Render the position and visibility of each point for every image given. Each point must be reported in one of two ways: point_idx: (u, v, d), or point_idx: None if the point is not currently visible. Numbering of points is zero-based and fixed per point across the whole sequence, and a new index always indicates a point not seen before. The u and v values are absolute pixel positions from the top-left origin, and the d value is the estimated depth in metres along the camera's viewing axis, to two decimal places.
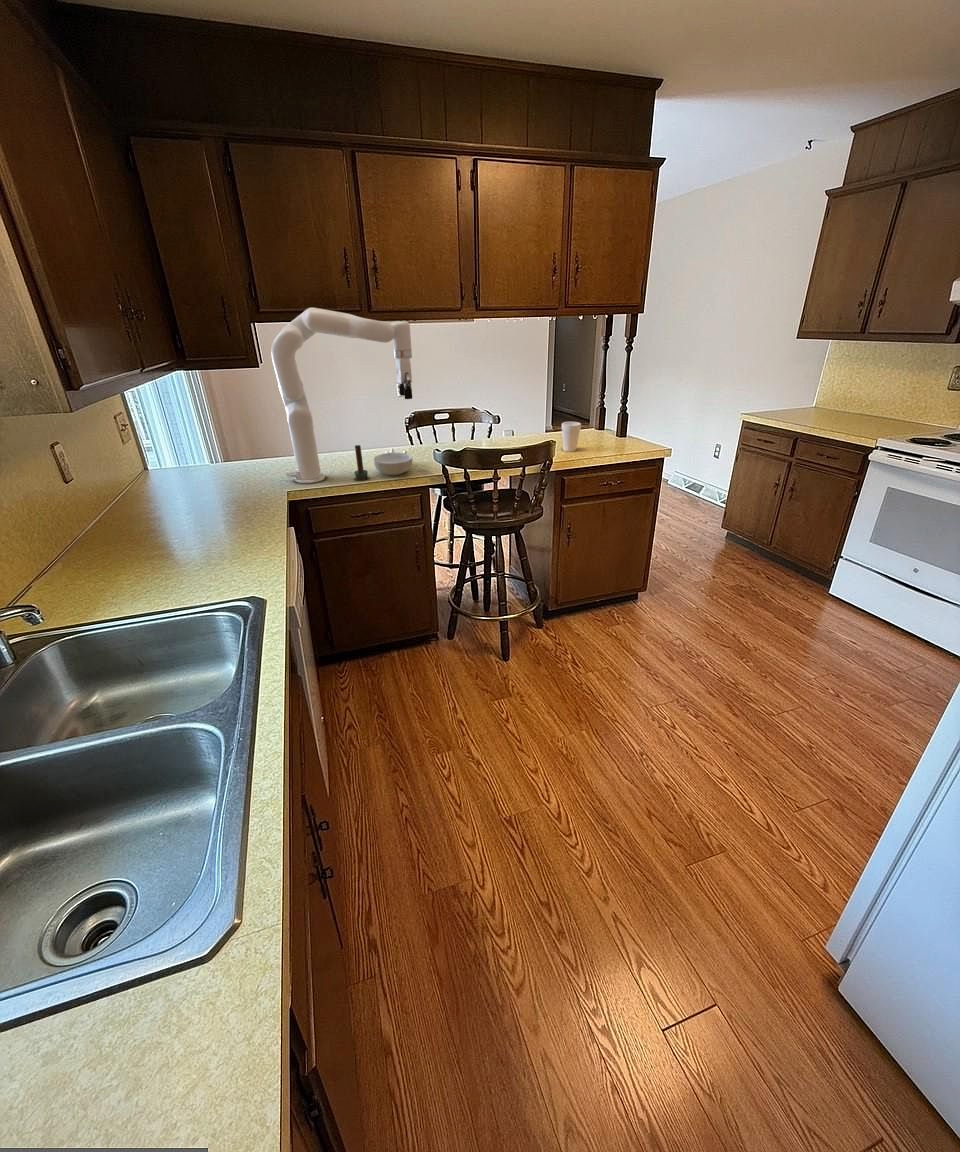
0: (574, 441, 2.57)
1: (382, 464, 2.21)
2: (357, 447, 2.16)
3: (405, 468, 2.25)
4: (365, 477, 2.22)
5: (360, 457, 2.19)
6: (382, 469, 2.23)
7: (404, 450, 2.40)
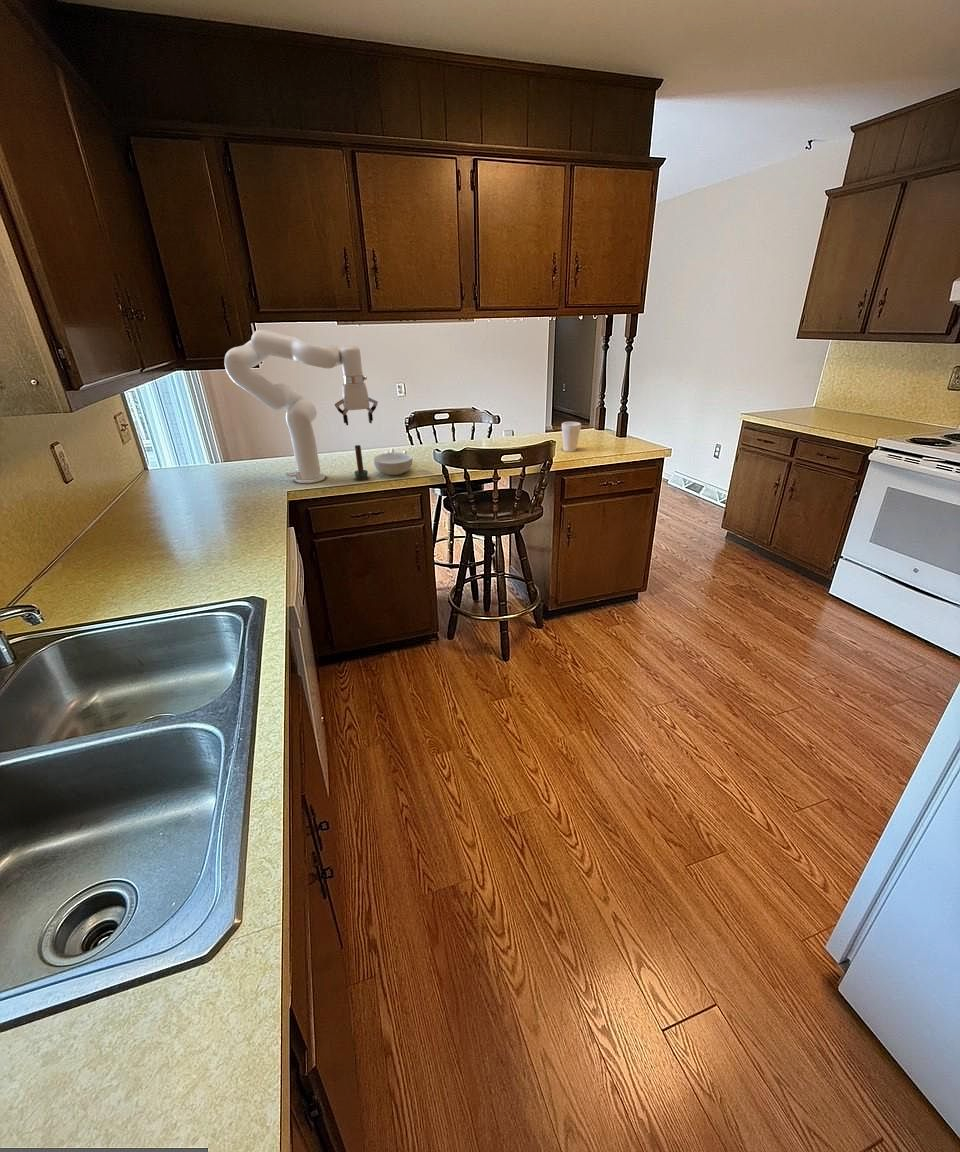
0: (574, 441, 2.57)
1: (382, 464, 2.21)
2: (357, 447, 2.16)
3: (405, 468, 2.25)
4: (365, 477, 2.22)
5: (360, 457, 2.19)
6: (382, 469, 2.23)
7: (404, 450, 2.40)
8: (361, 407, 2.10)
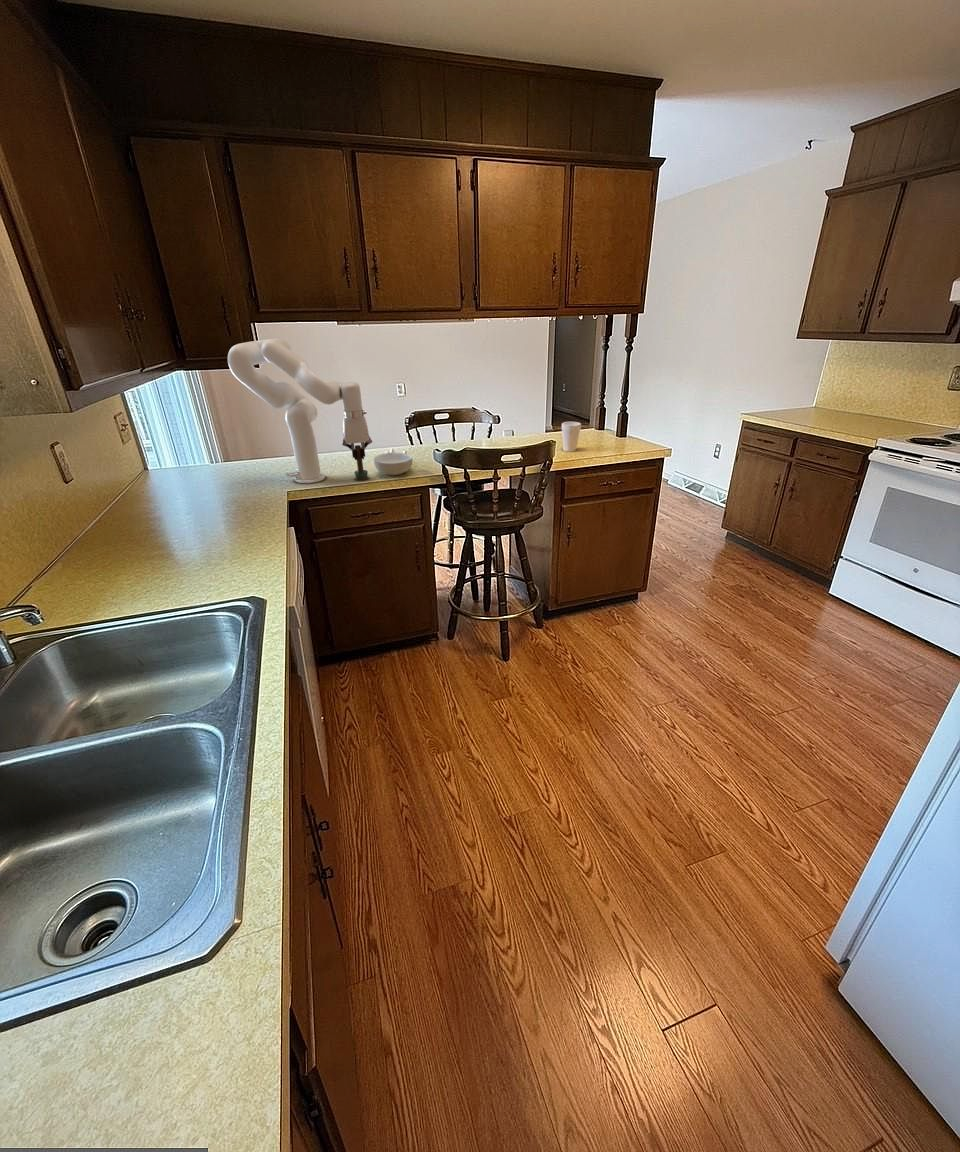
0: (574, 441, 2.57)
1: (382, 464, 2.21)
2: (357, 447, 2.16)
3: (405, 468, 2.25)
4: (365, 477, 2.22)
5: (360, 457, 2.19)
6: (382, 469, 2.23)
7: (404, 450, 2.40)
8: (361, 440, 2.15)
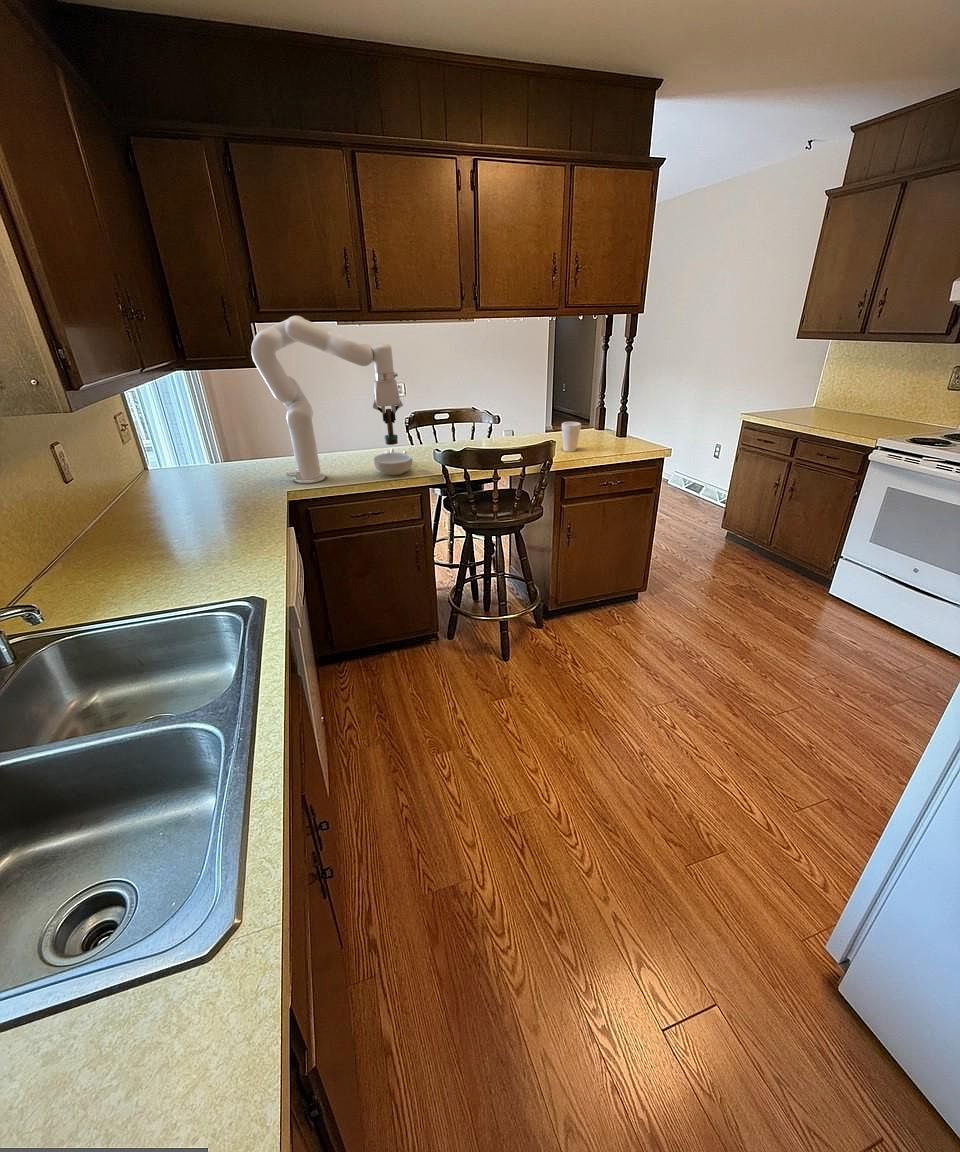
0: (574, 441, 2.57)
1: (382, 464, 2.21)
2: (388, 410, 2.17)
3: (405, 468, 2.25)
4: (395, 441, 2.23)
5: (391, 421, 2.19)
6: (382, 469, 2.23)
7: (404, 450, 2.40)
8: (392, 403, 2.15)
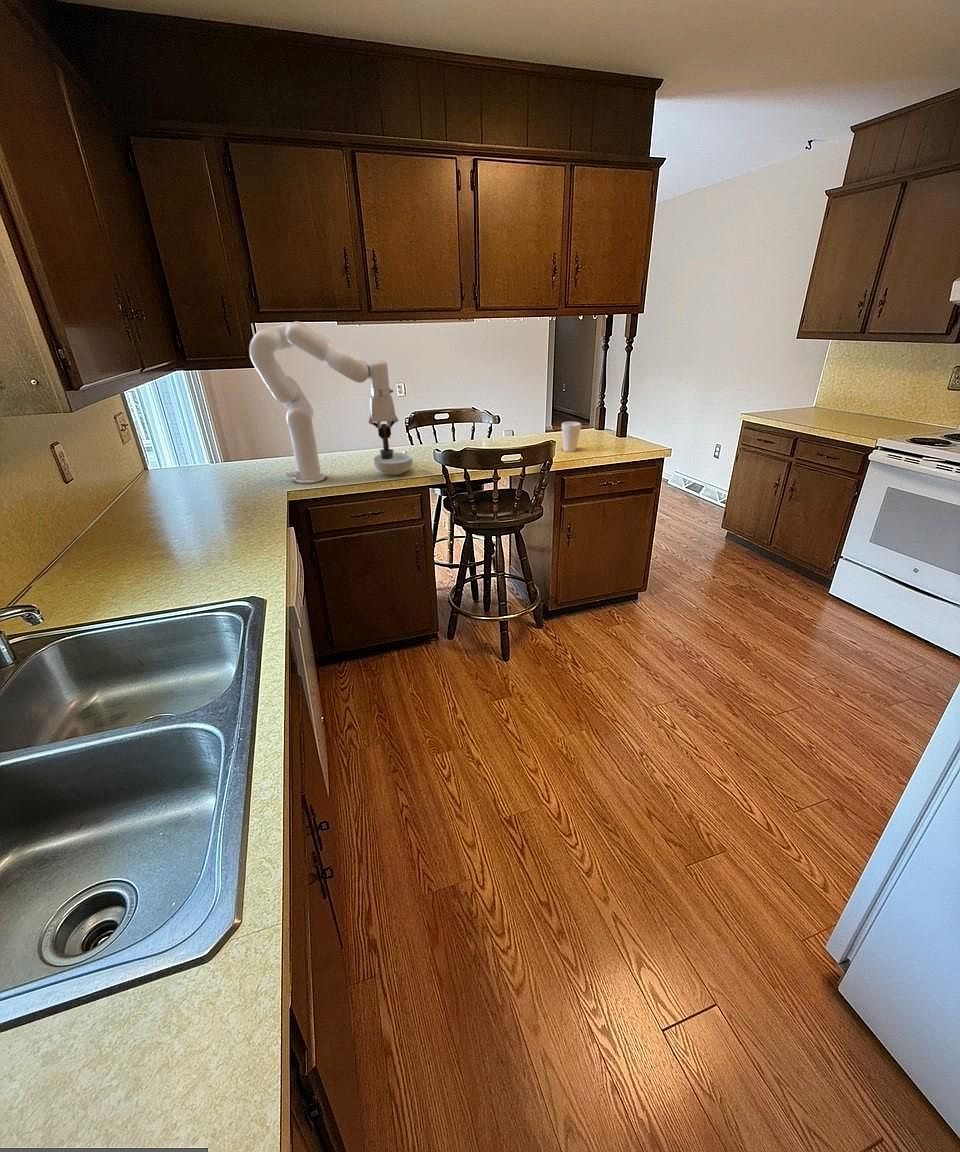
0: (574, 441, 2.57)
1: (382, 464, 2.21)
2: (383, 425, 2.19)
3: (405, 468, 2.25)
4: (391, 456, 2.25)
5: (386, 436, 2.21)
6: (382, 469, 2.23)
7: (404, 450, 2.40)
8: (387, 419, 2.17)
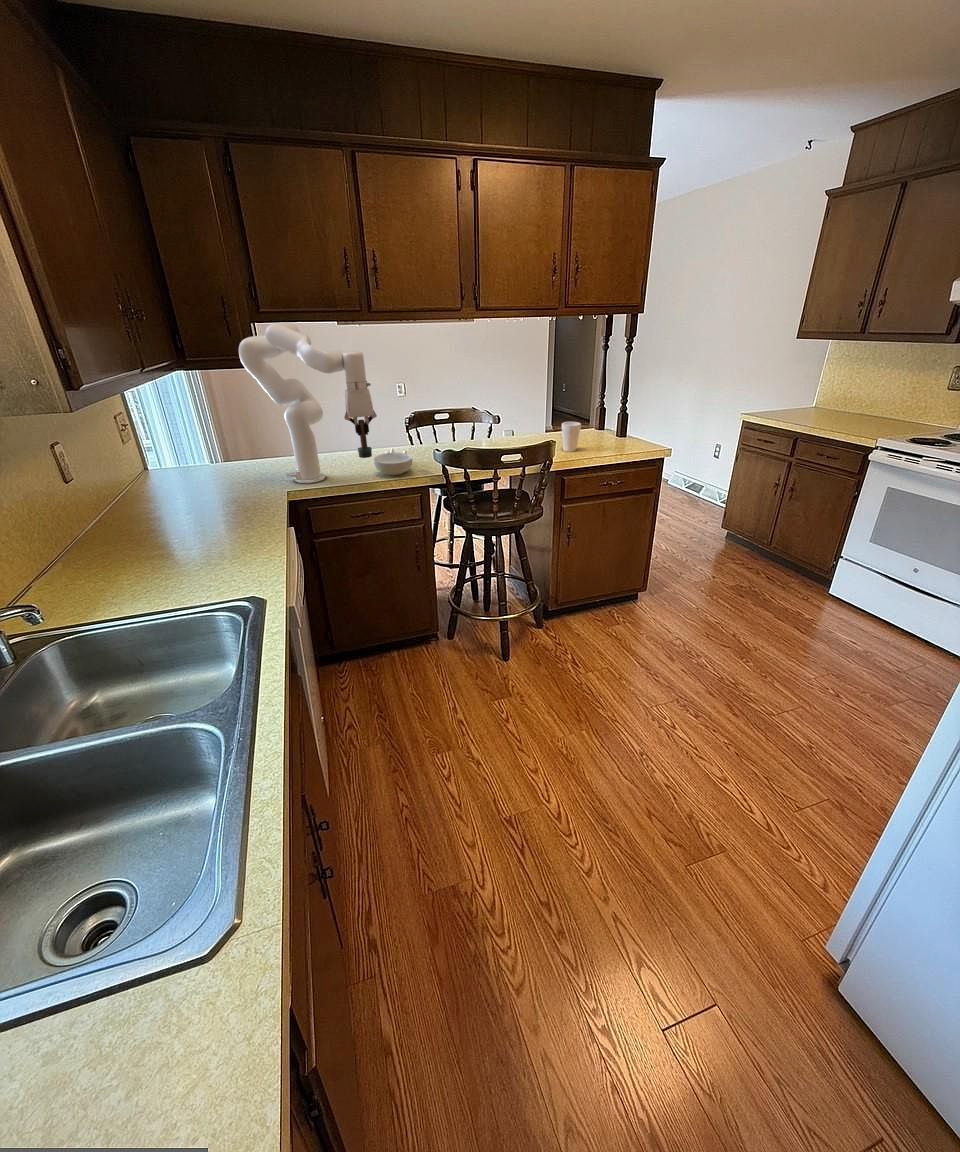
0: (574, 441, 2.57)
1: (382, 464, 2.21)
2: (360, 421, 2.03)
3: (405, 468, 2.25)
4: (369, 454, 2.09)
5: (364, 432, 2.05)
6: (382, 469, 2.23)
7: (404, 450, 2.40)
8: (365, 414, 2.01)
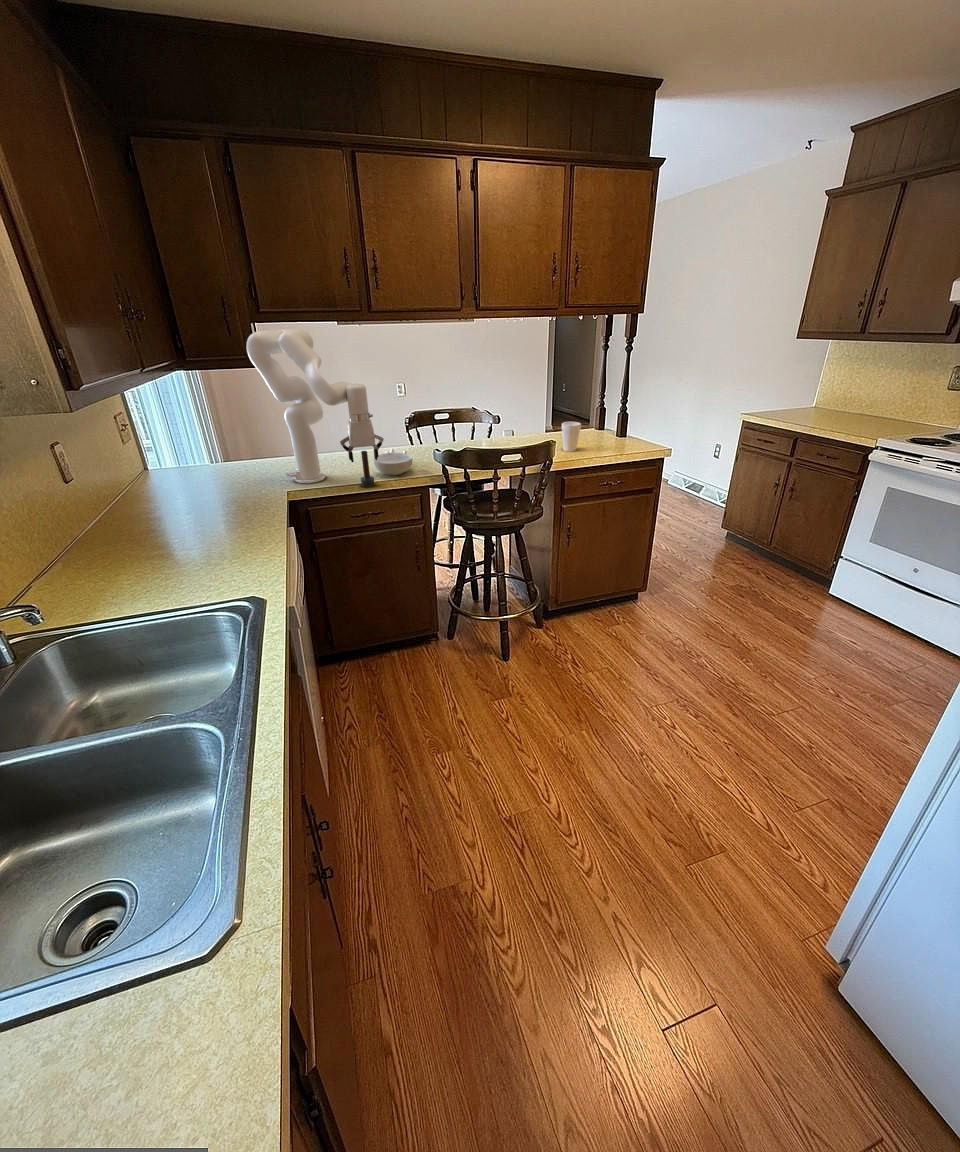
0: (574, 441, 2.57)
1: (382, 464, 2.21)
2: (363, 453, 2.08)
3: (405, 468, 2.25)
4: (372, 484, 2.14)
5: (366, 463, 2.11)
6: (382, 469, 2.23)
7: (404, 450, 2.40)
8: (367, 444, 2.07)
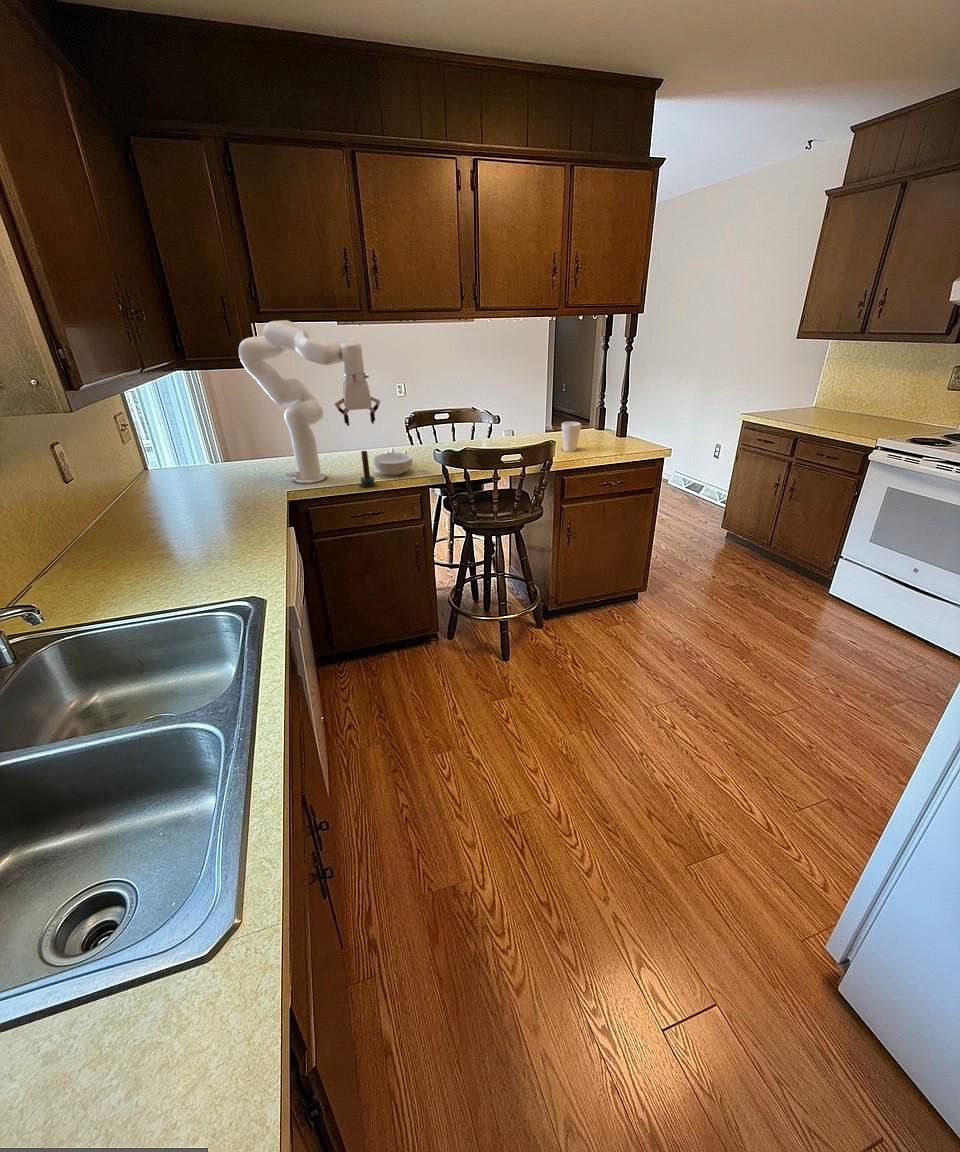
0: (574, 441, 2.57)
1: (382, 464, 2.21)
2: (363, 453, 2.08)
3: (405, 468, 2.25)
4: (372, 484, 2.14)
5: (366, 463, 2.11)
6: (382, 469, 2.23)
7: (404, 450, 2.40)
8: (363, 407, 2.00)
